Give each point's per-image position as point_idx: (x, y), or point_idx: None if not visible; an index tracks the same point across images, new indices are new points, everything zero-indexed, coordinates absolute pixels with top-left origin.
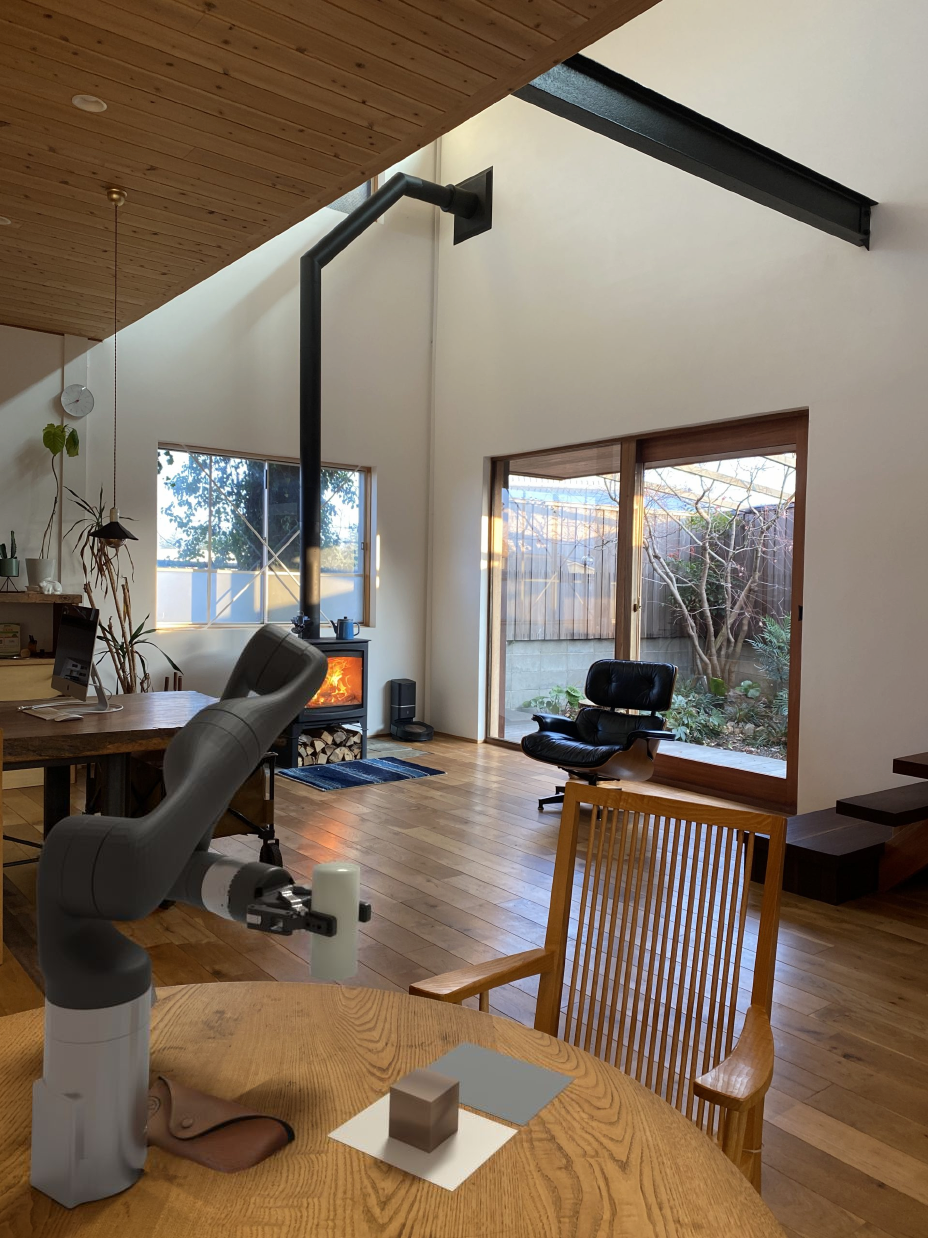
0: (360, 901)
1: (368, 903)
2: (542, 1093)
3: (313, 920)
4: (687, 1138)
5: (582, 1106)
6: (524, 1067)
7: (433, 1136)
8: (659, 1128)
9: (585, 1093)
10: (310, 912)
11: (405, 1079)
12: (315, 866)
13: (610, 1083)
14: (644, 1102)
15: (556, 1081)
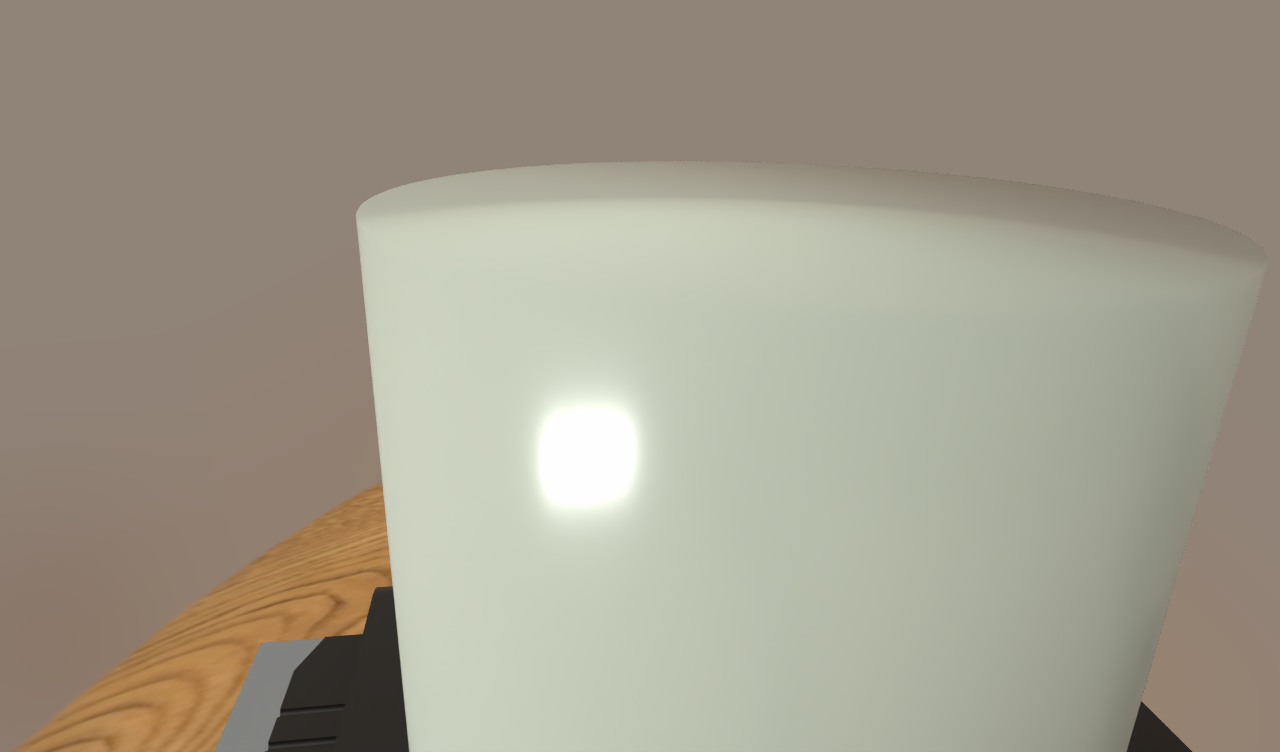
0: (383, 650)
1: (385, 587)
2: None
3: None
4: (368, 501)
5: (349, 622)
6: (253, 744)
7: None
8: (359, 528)
9: (282, 640)
10: (1147, 740)
11: None
12: (1153, 280)
13: (204, 627)
14: (268, 566)
15: (299, 661)
